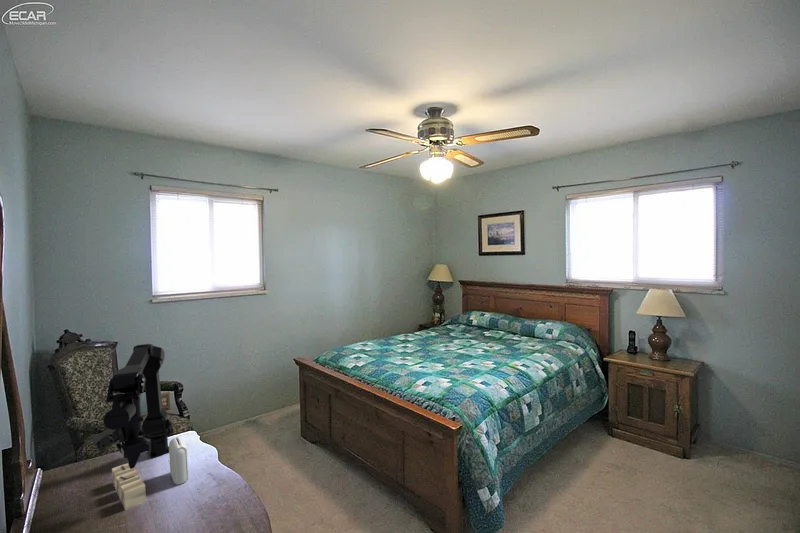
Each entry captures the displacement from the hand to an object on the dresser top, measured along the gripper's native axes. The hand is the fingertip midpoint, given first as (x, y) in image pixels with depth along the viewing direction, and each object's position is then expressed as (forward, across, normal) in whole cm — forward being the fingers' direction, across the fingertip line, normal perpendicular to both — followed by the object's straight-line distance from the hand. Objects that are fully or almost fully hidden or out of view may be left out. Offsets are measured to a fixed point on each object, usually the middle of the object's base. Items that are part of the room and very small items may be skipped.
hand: (132, 467), depth 110 cm
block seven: (+10, -7, 0) cm, 12 cm away
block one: (+10, -14, 0) cm, 17 cm away
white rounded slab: (+10, -4, +13) cm, 17 cm away
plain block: (+10, 0, 0) cm, 10 cm away
